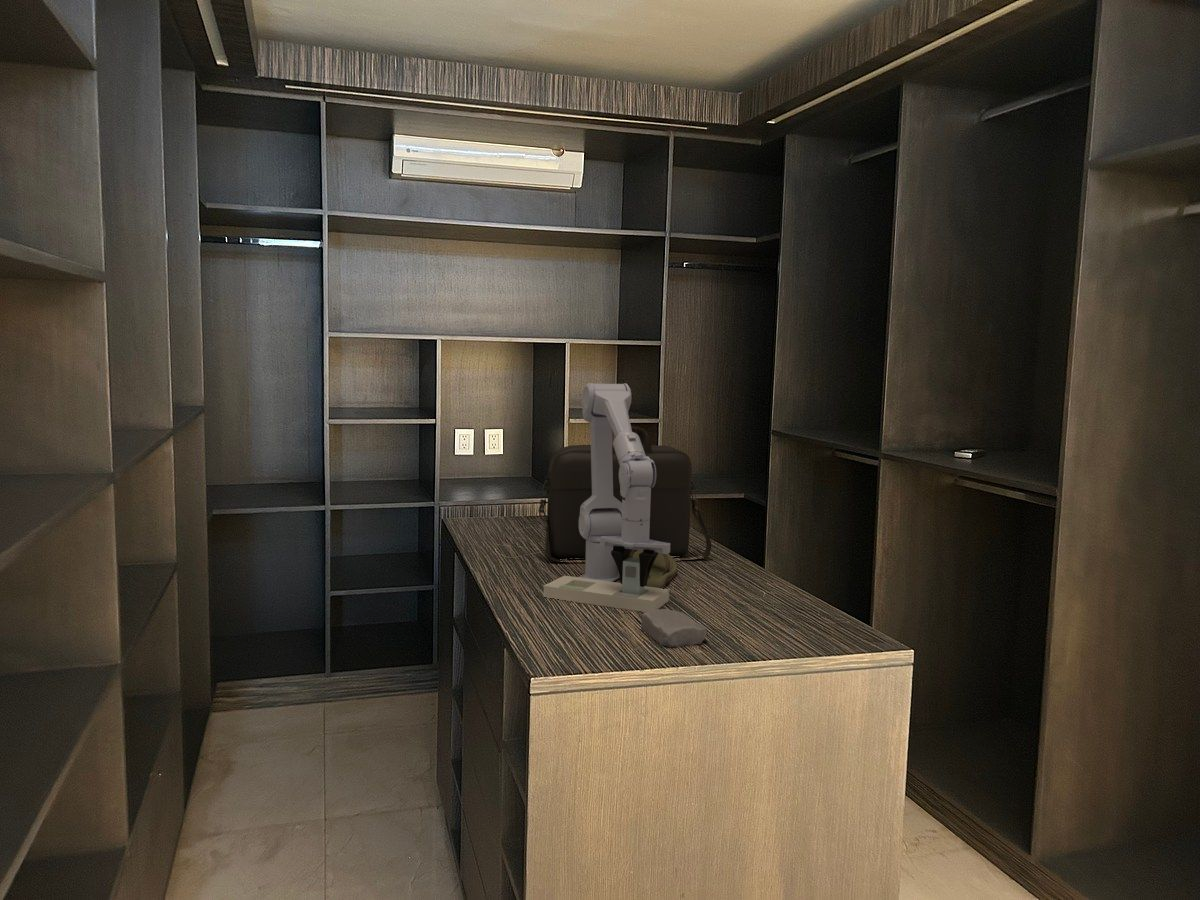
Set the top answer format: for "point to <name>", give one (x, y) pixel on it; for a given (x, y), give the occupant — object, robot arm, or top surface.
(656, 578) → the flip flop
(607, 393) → the robot arm
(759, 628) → the top surface
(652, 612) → the stone block
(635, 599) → the jack block
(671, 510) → the laptop bag
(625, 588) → the plug
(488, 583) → the top surface
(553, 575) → the top surface
